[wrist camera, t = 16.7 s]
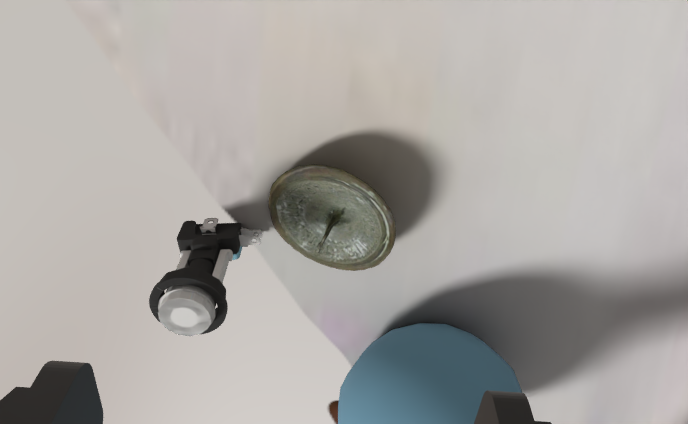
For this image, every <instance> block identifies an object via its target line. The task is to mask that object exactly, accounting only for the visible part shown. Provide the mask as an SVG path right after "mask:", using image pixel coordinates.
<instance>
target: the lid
mask: <svg viewBox="0 0 688 424" xmlns="http://www.w3.org/2000/svg"><path fill="white" fill-rule="evenodd" d="M269 209H270V212H271V218H272V222H273V225H274V227H275V229H276V230H277V232H278V233H279V234H280V236H281V237H282V238H283V239H284V240H285V241H286V242H287V243H288V244H290V245H291V246H292V247H293V248H294V249H295V250H297V251H298V252H300V253H301V254H303V255H304V256H305V257H307V258H309V259H312V260H314V261H316V262H318V263H320V264H323V265H326V266H329V267H333V268H336V269H342V270H353V271H356V270H365V269H367V268H372V267H375V266H377V265H379V264H380V263H381V262H382V261H383V260H384V259H385V258H386V257H387V256H388V255H389V253H390V252H391V249H392V248H393V245H394V241H395V236H396V228H395V220H394V217H393V215H392V212H391V210H390V208H389V207H388V206H387V204H386V203H385V201H384V200H383V198H382V197H381V196H380V195H379V194H378V193H377V192H376V191H375V190H374V189H373V188H371V187H370V186H369V185H367V184H366V183H365V182H363V181H362V180H360V179H359V178H357V177H355V176H353V175H351V174H349V173H347V172H346V171H343V170H341V169H338V168H333V167H329V166H325V165H306V166H299V167H296V168H293V169H291V170H289V171H287V172H285V173H284V174H283V175H281V176H280V177H279V178H278V179H277V180H276V181H275V182H274V183H273V185H272V187H271V191H270V196H269Z"/></svg>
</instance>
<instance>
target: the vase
mask: <svg viewBox="0 0 688 424" xmlns="http://www.w3.org/2000/svg"><path fill="white" fill-rule="evenodd" d="M487 390H489V391H505V392H520V393H522V391H521V388H520V385H519V383H518V380H517V378H516V376H515V373H514V371H513V369H512V368H511V367H510V366H509V365H508V364H507V363H506V362H505V360H504V359H503V358H502V357H501V356H500V355H498V354H497V353H496V352H495V351H494V350H492V349H491V348H490V347H489V346H488V345H487V344H485V343H484V342H483V341H482V340H480V339H479V338H477V337H476V336H474V335H472V334H471V333H469V332H466V331H464V330H461V329H458V328H455V327H453V326H450V325H447V324H427V323H418V324H414V325H410V326H406V327H402V328H397V329H393V330H391V331H389V332H388V333H386V334H385V335H383V336H382V337H380V338H379V339H377V340H376V341H374V342H372V344H371V345H370V346H369V347H368V348H367V349H366V350H365V351H364V352H363V353H362V355H361V356H360V357H359V359H358V360H357V362H356V363H355V364H354V366H353V367H352V369H351V370H350V372H349V373H348V374H347V376H346V378H345V380H344V382H343V384H342V386H341V389H340V397H339V404H338V424H474V422H475V419H476V416H477V412H478V409H479V406H480V403H481V400H482V397H483V395H484V393H485V391H487Z"/></svg>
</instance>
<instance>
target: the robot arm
mask: <svg viewBox="0 0 688 424" xmlns="http://www.w3.org/2000/svg"><path fill="white" fill-rule="evenodd" d="M0 424H103V408H102V405H101V401H100V396H99V393H98V389H97V385H96V381H95V377H94V373H93V369H92V367H91V365H90V364H89V363H79V362H63V361H50V362H47V363H46V364H45V365H44V366H43V368H42V369H41V371H40V372H39V374H38V376H37V377H36V379H35V381H34V382H33V384H32V386H31V387H30V388H25V387H16V388H14V389H13V390H12V391H11V392H10V393H9V394H7V395H6V396H5V397H4V398H3V399H2V400H0ZM474 424H551V422H539V421H534V418H533V415H532V412H531V408H530V405H529V402H528V399H527V397H526V396H525V394H524V393H520V392H505V391H489V390H487V391H485V393H484V395H483V397H482V400H481V403H480V406H479V409H478V412H477V416H476V419H475V422H474Z"/></svg>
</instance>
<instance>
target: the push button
mask: <svg viewBox="0 0 688 424" xmlns="http://www.w3.org/2000/svg"><path fill="white" fill-rule="evenodd" d="M209 221H213V223H212V224H208V222H209ZM217 222H218V219H217V218H208V219H205V221H204V223H203V224H196V222H195V221H186V222H184V223H183V225H182V228H181V230H180V232H179V234H178V237H177V241H178V245H179V249H180V262H179V264H178V266H177V269H176V270H175V271H171V272H168V273H166V275H165V276H164V277H163V278H162V279H161V281H160V282H159V283H157V284H156V285H155V287H154V288H153V290H152V293H151V295H150V299H149V303H150V308H151V311H152V313H153V315H154V316H155V317H156V319H157V320H158V321H159V322H161V323H162V324H163V325H164V327H165V328H167V329H168V330H170V331H172V332H174V333H175V334H178V335H185V336H193V335H198V334H204V333H208V332H211V331H213V330H215V329H217V328H218V327H219V326H220V325H221V324H222V323H223V321H224V320H225V317H226V314H227V301H226V289H225V287H224V286H223V284H222V283H223V279H224V276H225V272H226V269H227V266H228V263H229V261H232V260H235V259H238V258H239V257H240V253H241V250H242V247H247V246H248V245H260V244H261V241H260V238H262V231H261V230H248V229H242V228H241V224H240V223H223V224H217ZM254 232H257V233H258V235H257V236H255V235H254V234H253V233H254ZM252 239H256V240H257V241H256V242H252ZM165 289H167V291H166V293H164V290H165ZM216 303H217V305H218V307H217V308H216V309H215V306H216Z"/></svg>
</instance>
